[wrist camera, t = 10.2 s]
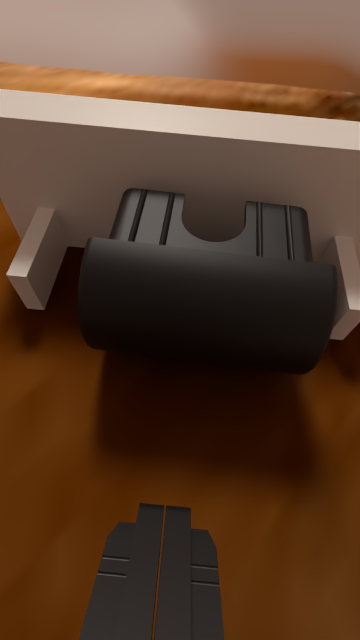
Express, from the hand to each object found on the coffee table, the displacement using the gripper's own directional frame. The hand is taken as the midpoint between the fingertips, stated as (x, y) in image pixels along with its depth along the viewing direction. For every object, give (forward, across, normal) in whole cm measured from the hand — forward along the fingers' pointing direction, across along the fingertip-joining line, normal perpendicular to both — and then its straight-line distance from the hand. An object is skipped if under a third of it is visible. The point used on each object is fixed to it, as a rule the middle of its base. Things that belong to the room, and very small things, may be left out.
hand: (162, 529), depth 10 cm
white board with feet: (+13, 0, -6) cm, 14 cm away
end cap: (+11, -1, -3) cm, 11 cm away
